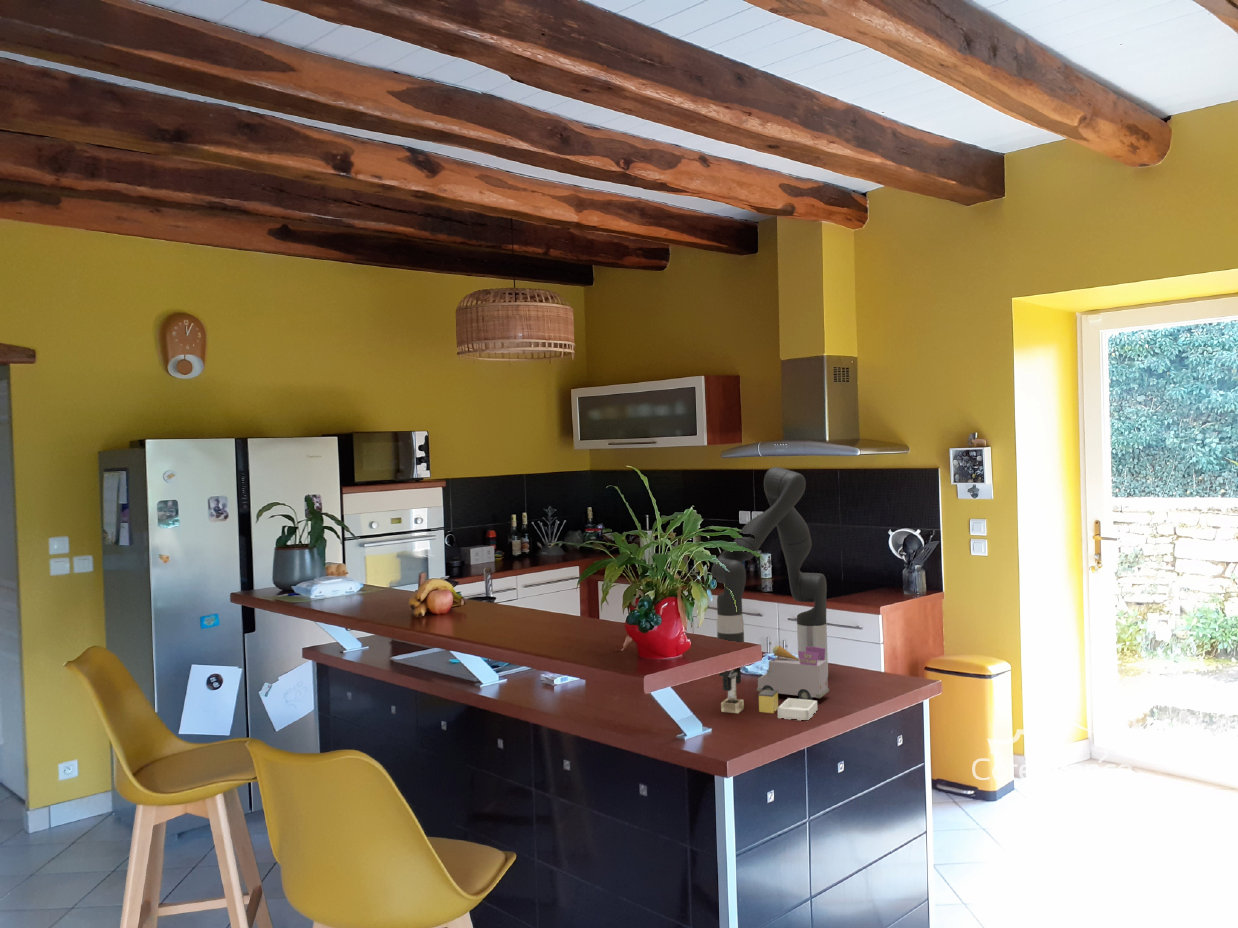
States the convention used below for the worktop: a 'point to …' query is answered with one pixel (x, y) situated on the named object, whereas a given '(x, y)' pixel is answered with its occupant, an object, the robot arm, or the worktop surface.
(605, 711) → the worktop surface
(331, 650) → the worktop surface
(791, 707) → the tray
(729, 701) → the pin
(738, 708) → the holder
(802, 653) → the toy vehicle
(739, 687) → the worktop surface
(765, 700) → the block
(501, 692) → the worktop surface
